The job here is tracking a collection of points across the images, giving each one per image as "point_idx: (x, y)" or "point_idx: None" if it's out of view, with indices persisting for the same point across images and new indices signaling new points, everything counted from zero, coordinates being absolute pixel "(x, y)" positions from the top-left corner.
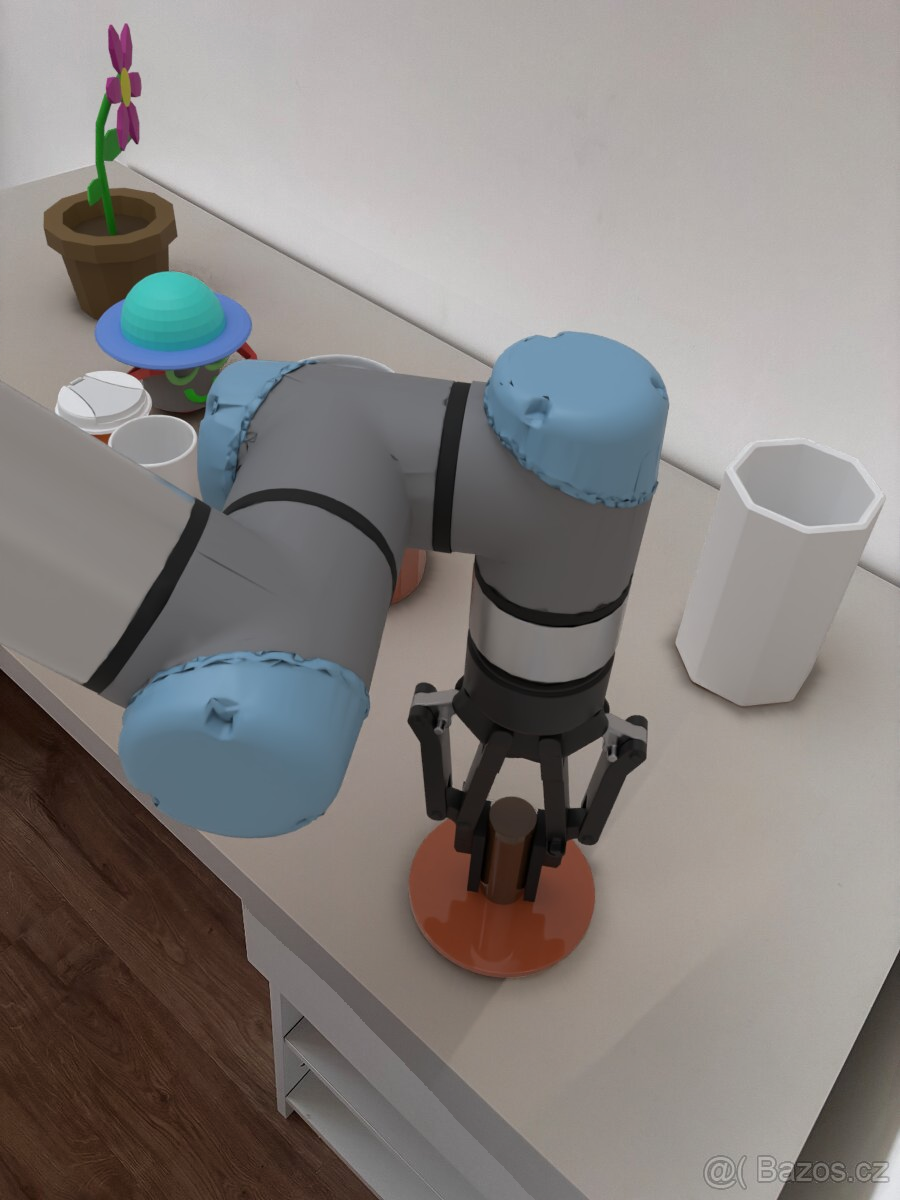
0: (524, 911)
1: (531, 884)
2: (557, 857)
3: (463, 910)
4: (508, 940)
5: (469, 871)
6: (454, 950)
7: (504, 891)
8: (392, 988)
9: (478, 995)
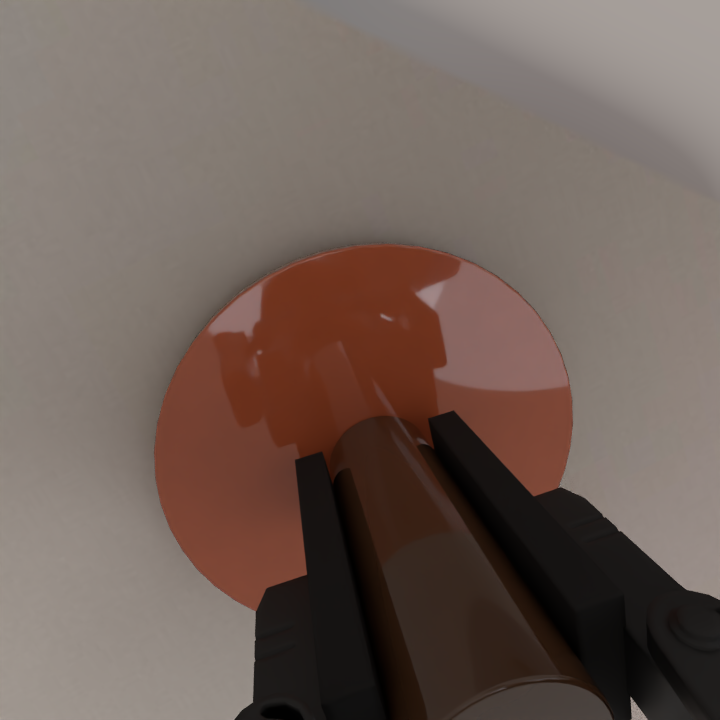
0: (309, 430)
1: (318, 501)
2: (270, 639)
3: (437, 367)
4: (315, 348)
5: (491, 453)
6: (423, 266)
7: (375, 449)
8: (510, 136)
9: (326, 205)
